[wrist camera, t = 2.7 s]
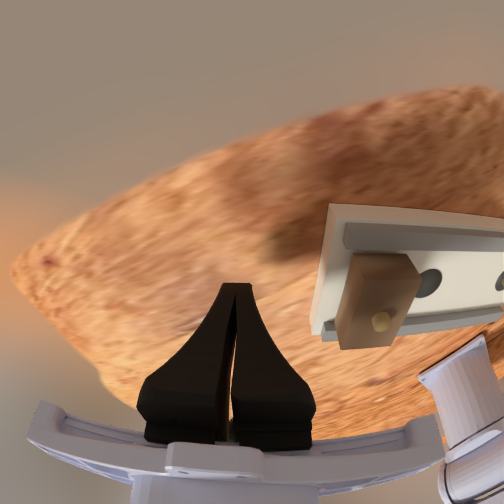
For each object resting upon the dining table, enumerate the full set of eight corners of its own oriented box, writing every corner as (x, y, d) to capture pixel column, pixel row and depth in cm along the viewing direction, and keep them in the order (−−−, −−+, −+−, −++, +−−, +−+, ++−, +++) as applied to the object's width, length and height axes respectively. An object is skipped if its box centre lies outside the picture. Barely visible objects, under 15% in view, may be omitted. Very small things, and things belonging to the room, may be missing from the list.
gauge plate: (528, 222, 14) (562, 257, 10) (489, 303, 18) (512, 341, 15) (328, 203, 14) (353, 256, 10) (309, 317, 18) (318, 374, 15)
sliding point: (406, 253, 13) (427, 286, 11) (381, 319, 16) (393, 352, 14) (352, 253, 13) (367, 288, 11) (334, 322, 16) (342, 357, 14)
